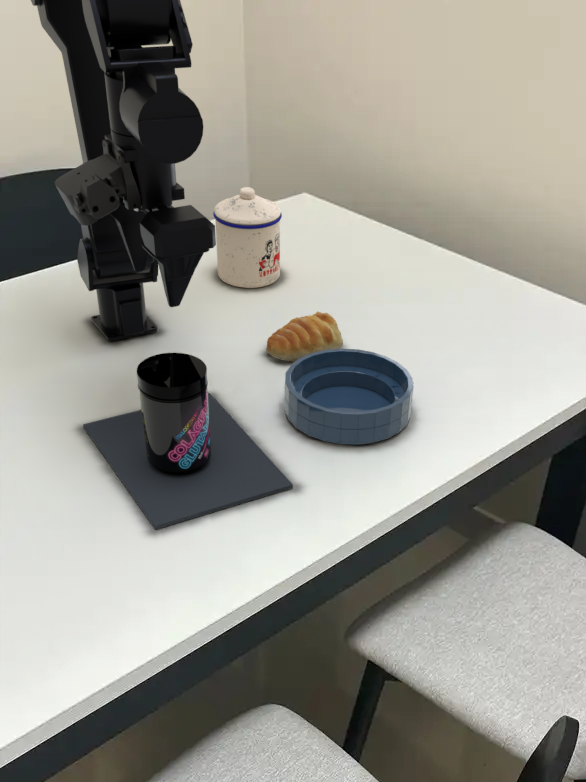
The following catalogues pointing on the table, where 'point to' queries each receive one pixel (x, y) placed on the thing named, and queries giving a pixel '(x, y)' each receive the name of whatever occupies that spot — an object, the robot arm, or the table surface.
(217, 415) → the placemat
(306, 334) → the pastry
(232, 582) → the table surface
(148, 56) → the robot arm
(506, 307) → the table surface
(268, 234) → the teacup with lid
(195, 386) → the supplement container
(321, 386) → the bowl
